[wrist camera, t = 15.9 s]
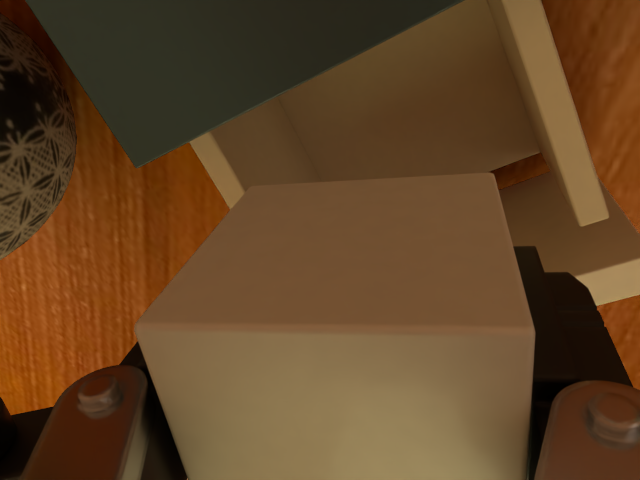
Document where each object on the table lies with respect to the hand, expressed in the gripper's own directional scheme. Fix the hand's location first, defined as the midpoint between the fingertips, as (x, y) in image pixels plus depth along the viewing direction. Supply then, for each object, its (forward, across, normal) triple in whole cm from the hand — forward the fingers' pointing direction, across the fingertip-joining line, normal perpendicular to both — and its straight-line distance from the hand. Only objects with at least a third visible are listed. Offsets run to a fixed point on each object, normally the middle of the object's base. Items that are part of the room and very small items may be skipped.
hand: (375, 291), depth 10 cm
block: (0, 0, 0) cm, 0 cm away
